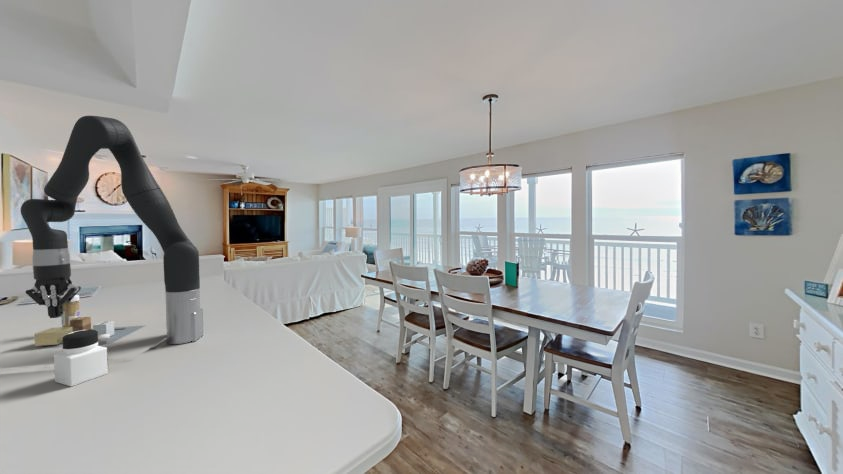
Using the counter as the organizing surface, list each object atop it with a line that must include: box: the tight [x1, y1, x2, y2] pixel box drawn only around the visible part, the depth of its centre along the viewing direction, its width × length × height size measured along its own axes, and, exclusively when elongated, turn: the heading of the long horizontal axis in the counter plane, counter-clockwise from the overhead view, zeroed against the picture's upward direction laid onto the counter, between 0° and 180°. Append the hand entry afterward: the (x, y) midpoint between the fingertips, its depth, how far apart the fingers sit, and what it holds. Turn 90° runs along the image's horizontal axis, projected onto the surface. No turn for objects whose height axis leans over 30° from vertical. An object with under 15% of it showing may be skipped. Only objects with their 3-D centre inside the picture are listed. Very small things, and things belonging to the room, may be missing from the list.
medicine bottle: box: [53, 328, 109, 387], centre depth 78 cm, size 7×7×12 cm
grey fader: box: [92, 320, 115, 336], centre depth 102 cm, size 4×4×5 cm
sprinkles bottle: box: [60, 294, 81, 327], centre depth 110 cm, size 5×5×14 cm
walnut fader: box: [70, 316, 92, 332], centre depth 107 cm, size 4×4×5 cm
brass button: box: [34, 326, 73, 347], centre depth 97 cm, size 6×6×4 cm
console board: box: [30, 324, 147, 350], centre depth 103 cm, size 20×18×5 cm
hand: (55, 317), depth 97 cm, fingers closed
